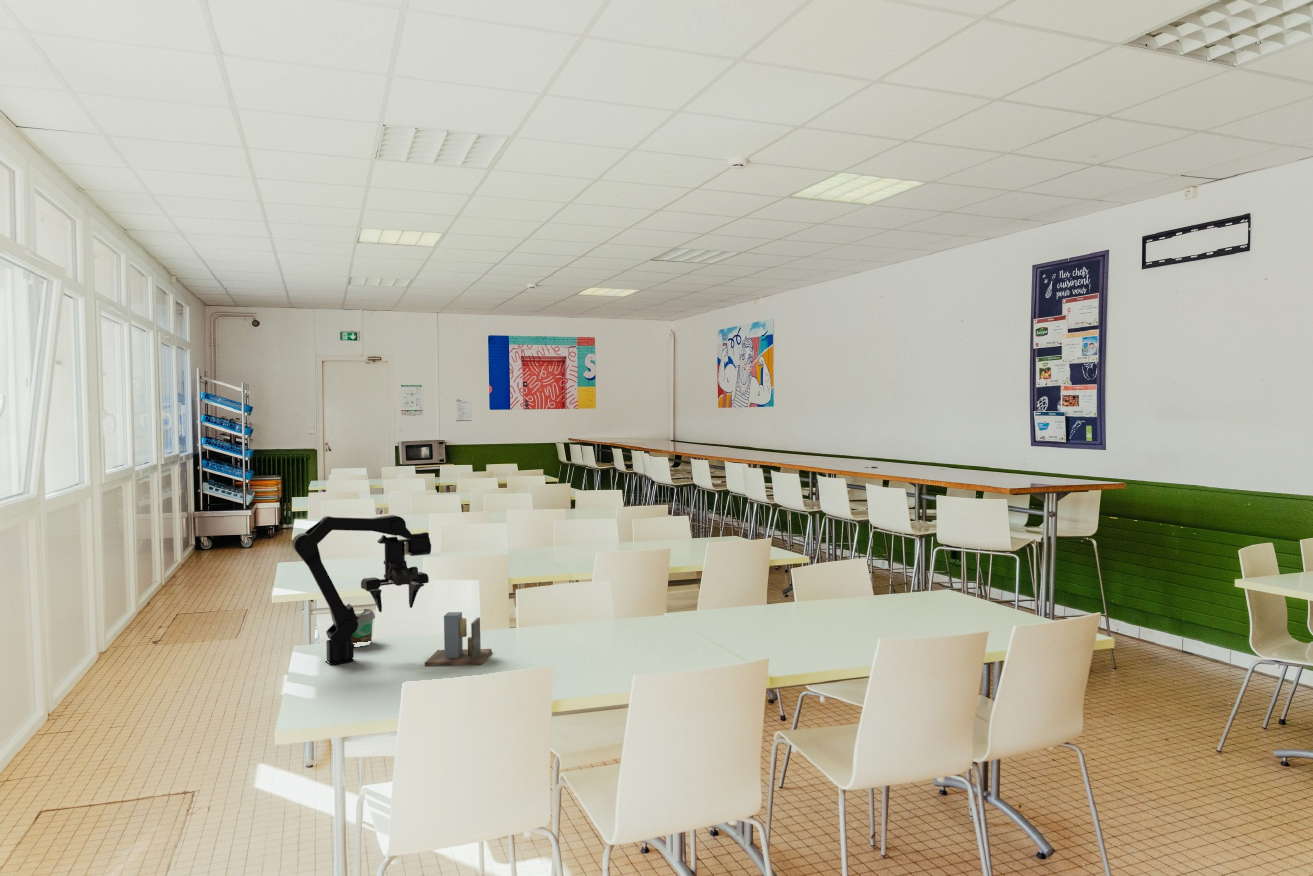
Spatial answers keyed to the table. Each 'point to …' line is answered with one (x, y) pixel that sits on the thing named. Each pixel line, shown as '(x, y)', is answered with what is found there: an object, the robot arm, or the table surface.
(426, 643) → the table surface
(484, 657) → the hinge jig
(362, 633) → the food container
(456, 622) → the loose hinge leaf
